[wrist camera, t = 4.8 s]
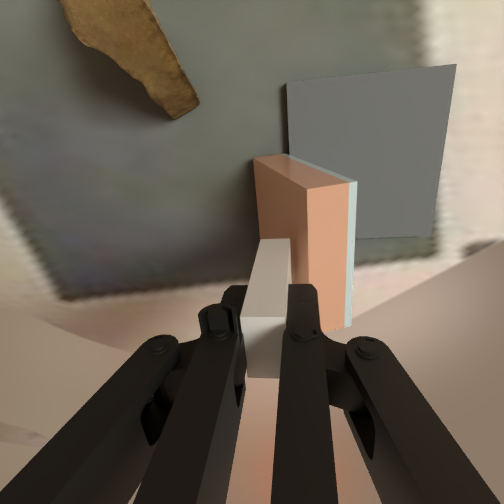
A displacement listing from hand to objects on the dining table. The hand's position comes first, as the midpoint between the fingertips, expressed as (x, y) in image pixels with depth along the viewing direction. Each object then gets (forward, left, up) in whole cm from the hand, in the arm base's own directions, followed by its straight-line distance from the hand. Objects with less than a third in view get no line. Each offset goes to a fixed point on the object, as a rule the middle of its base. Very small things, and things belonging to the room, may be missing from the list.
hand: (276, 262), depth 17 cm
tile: (-1, 0, -9) cm, 9 cm away
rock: (-9, +12, -9) cm, 18 cm away
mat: (+6, +3, -9) cm, 11 cm away
